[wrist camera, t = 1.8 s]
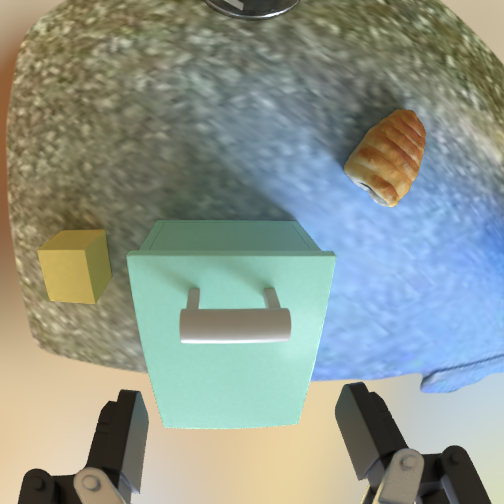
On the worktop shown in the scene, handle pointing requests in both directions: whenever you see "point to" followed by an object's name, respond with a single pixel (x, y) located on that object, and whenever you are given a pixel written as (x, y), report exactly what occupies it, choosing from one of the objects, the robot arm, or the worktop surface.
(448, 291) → the worktop surface
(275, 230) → the cool box
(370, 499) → the robot arm
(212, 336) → the lid
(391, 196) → the pastry
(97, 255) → the block
